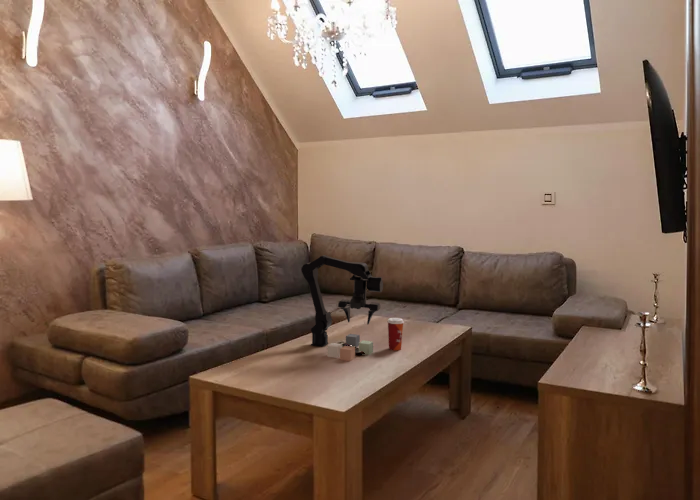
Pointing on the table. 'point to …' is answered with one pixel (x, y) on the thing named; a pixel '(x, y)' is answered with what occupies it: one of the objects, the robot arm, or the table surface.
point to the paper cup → (395, 333)
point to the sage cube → (366, 347)
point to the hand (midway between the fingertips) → (358, 323)
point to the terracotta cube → (347, 353)
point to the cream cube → (333, 350)
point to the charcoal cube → (353, 339)
